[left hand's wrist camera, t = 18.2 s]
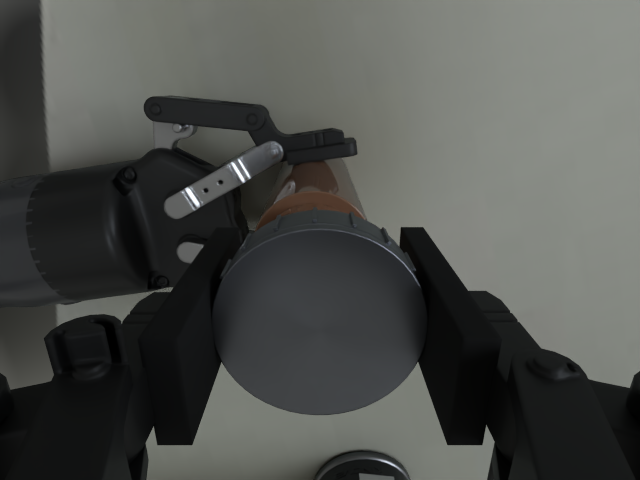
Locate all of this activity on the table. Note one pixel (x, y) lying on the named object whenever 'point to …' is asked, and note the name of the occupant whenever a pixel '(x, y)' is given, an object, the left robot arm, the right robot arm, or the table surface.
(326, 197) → the jar
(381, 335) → the lid
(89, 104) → the table surface
